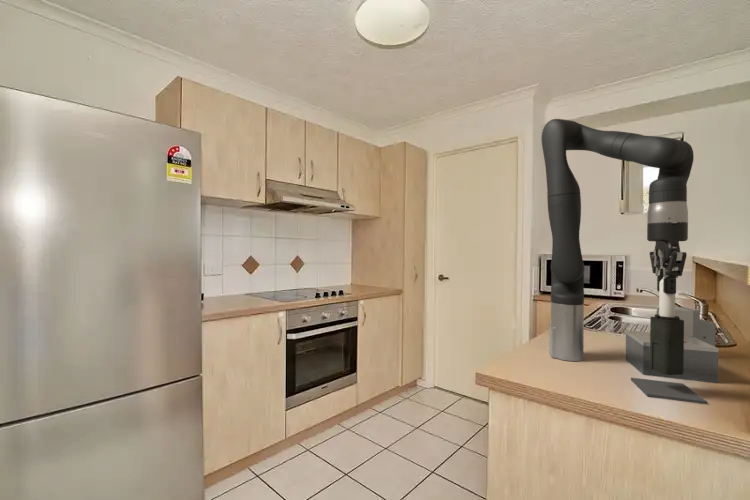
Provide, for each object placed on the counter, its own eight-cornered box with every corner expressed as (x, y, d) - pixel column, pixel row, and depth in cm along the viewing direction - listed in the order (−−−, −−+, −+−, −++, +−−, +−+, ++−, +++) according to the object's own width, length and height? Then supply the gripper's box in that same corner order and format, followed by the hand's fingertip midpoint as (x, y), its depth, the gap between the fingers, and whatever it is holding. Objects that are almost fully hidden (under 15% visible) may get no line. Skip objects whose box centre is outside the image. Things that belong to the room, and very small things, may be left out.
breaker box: (643, 374, 94) (643, 342, 94) (625, 359, 107) (625, 330, 107) (718, 383, 88) (718, 348, 88) (690, 365, 101) (690, 335, 101)
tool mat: (647, 396, 80) (647, 394, 80) (630, 379, 90) (630, 377, 90) (707, 404, 76) (707, 401, 76) (682, 385, 86) (682, 383, 86)
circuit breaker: (721, 359, 108) (722, 311, 108) (669, 356, 111) (669, 309, 110) (703, 352, 115) (704, 307, 115) (655, 349, 118) (655, 306, 118)
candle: (647, 367, 86) (648, 267, 85) (666, 367, 86) (667, 267, 86) (666, 375, 80) (667, 269, 80) (686, 374, 81) (687, 269, 81)
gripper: (637, 224, 91) (636, 289, 91) (660, 219, 78) (660, 295, 78) (672, 223, 88) (671, 290, 88) (702, 219, 75) (701, 297, 75)
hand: (666, 292), depth 83 cm, fingers closed on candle, 3 cm apart
